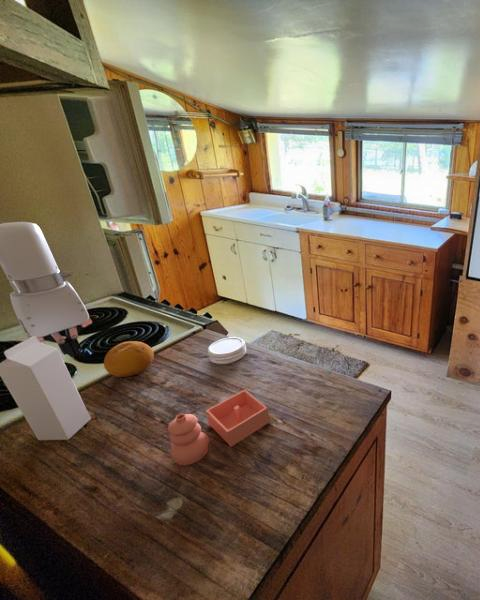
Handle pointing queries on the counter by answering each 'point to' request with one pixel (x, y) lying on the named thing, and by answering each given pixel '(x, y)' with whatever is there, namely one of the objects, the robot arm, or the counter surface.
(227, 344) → the white round flat stack
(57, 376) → the milk
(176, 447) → the pottery
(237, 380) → the counter surface
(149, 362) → the fruit
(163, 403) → the counter surface
